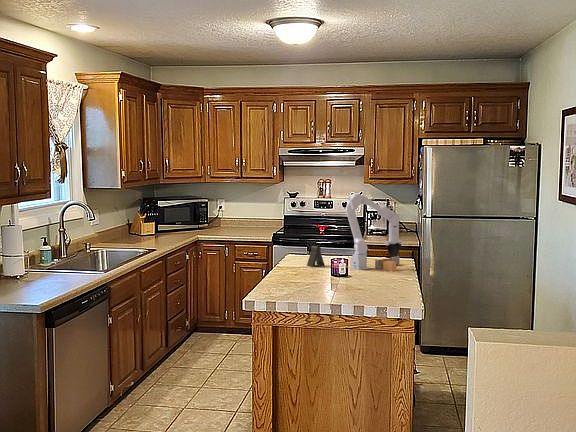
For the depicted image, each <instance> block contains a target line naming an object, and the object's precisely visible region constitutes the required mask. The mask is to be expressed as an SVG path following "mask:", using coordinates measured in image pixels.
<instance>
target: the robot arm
mask: <svg viewBox="0 0 576 432" xmlns="http://www.w3.org/2000/svg"><path fill="white" fill-rule="evenodd" d="M360 205H367V206H368V207H370V208H372V209H374V210H375V211H377V214H378V215H379V216H381V217H382V218H384V219H386V220H387V221H388V222H389V223H388V240H386V241H384V245H385V247H386V249H387V252H388V255H389V258H391V257H397V256H398V255H399V251H400V249H401V247H402V244H403V240H402V239H399V236H400V226H399V225H400V224H399V223H400V222H401V217H400V214H399V213H396V212H395V211H394V210H391V209H389V208H388V206H387V205H379V204H378V203H376V202H375V201H373V200H372V199H370V198H368V197H366V196H364V195H361V194H360V193H352V194H350V196H348V197H347V203H346V207H345V213H346V216H347V218H348V219H347V220H348V222H349V226H350V227H349V228H350V229H351V234H352V236H353V237H352V238H353V243H354V245H353V249H354V250H355V251H354V254H352V255H351V257H350V267H349V269H350V270H355V271H363V270H369V269H371V268H370V267H368V266H367V265H368V262H367V261H368V249H369V248H368V245H367V244H366V243H365V240H364V238H363V235H362V232H361V228H360V225H359V221H358V218H357V215H356V210H357V208H358V207H359V206H360Z"/></svg>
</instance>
